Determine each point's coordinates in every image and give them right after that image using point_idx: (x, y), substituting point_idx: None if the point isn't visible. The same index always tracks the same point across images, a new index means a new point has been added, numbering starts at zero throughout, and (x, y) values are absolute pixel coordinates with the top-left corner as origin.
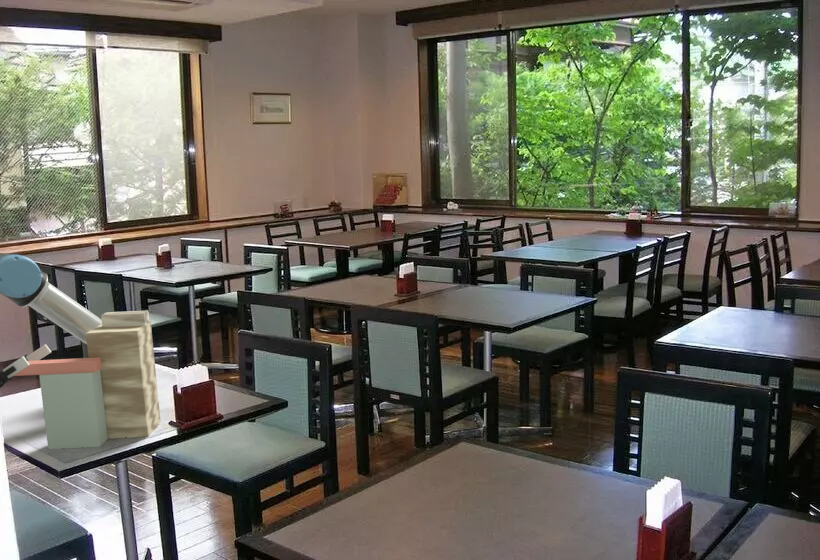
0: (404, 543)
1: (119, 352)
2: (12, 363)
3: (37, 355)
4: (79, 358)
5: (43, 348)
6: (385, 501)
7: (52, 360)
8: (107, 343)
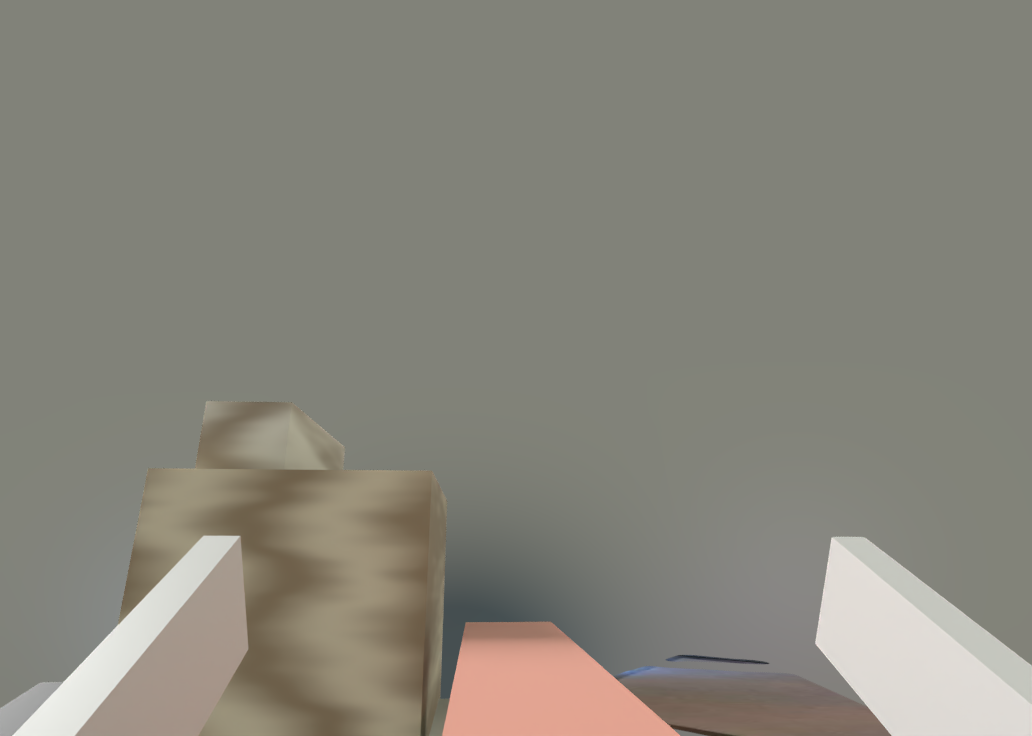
0: (869, 718)
1: (438, 599)
2: (984, 632)
3: (157, 726)
4: (466, 637)
5: (224, 590)
6: (769, 726)
7: (491, 672)
8: (437, 547)
